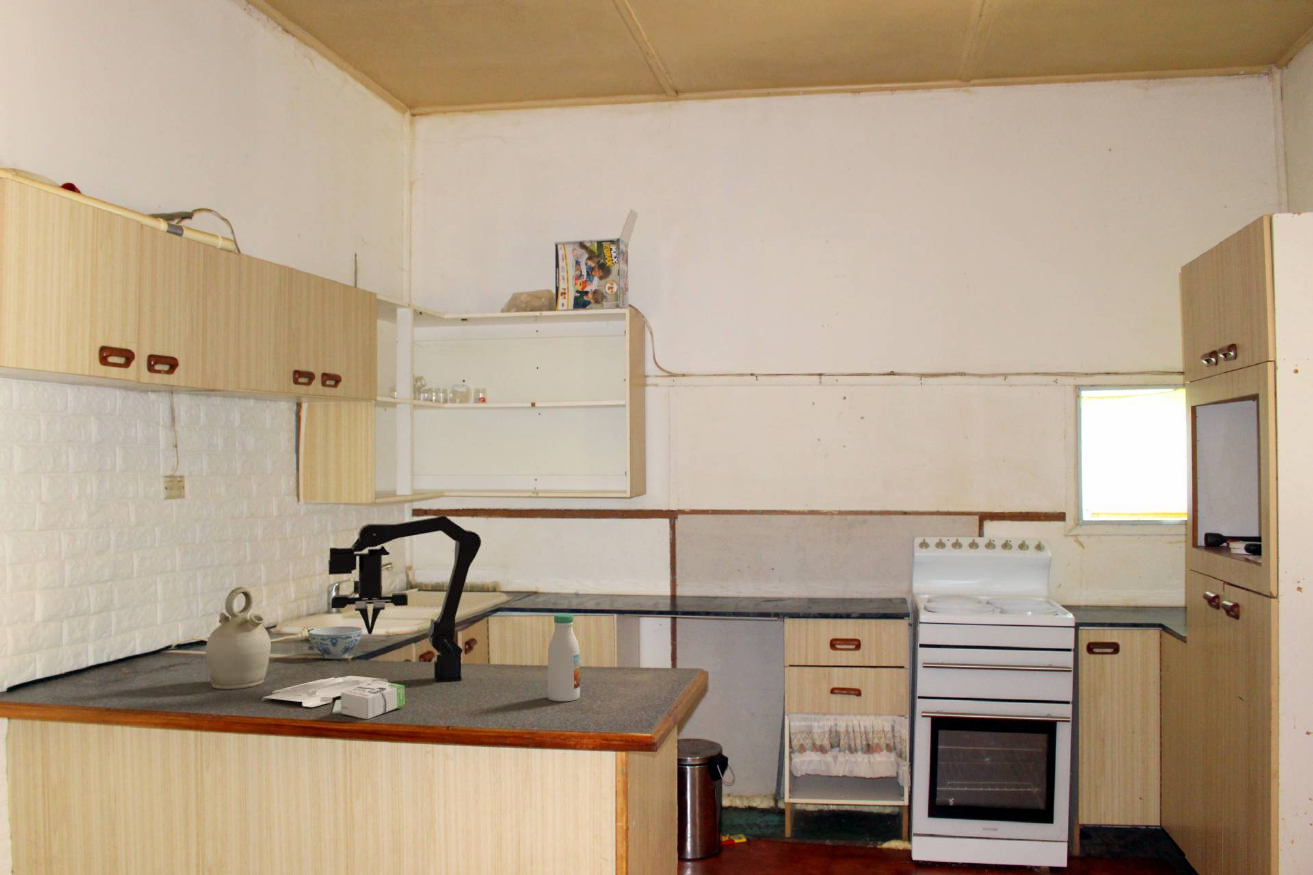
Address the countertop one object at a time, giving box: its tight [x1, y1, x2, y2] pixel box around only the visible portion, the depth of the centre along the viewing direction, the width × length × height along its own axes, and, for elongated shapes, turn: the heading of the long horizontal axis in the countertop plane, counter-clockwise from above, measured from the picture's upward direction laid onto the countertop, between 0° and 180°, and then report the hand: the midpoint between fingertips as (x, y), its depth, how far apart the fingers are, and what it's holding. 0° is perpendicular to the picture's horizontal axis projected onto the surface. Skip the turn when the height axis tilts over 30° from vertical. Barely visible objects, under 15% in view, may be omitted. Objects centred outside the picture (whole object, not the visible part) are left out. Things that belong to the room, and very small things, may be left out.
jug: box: [205, 586, 272, 690], centre depth 256 cm, size 15×16×25 cm
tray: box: [261, 675, 389, 708], centre depth 245 cm, size 20×28×4 cm
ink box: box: [340, 681, 406, 720], centre depth 225 cm, size 9×5×12 cm
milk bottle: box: [547, 613, 581, 702], centre depth 238 cm, size 8×8×20 cm
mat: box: [331, 699, 342, 715], centre depth 231 cm, size 12×12×1 cm
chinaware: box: [309, 625, 363, 659], centre depth 293 cm, size 15×15×8 cm
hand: (370, 634), depth 254 cm, fingers closed
